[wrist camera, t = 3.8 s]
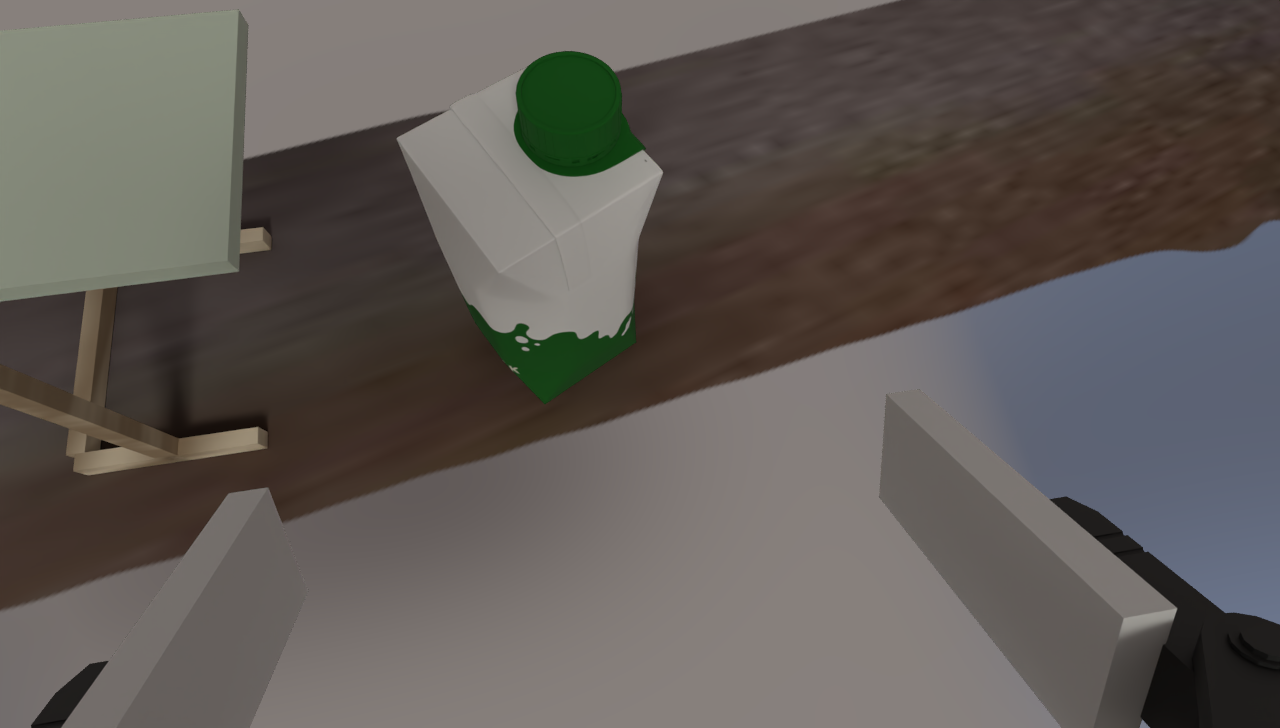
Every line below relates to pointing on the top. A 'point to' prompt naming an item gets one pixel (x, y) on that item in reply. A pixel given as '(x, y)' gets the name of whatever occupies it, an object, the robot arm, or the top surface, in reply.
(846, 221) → the top surface
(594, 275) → the soya milk
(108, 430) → the trapdoor stand
